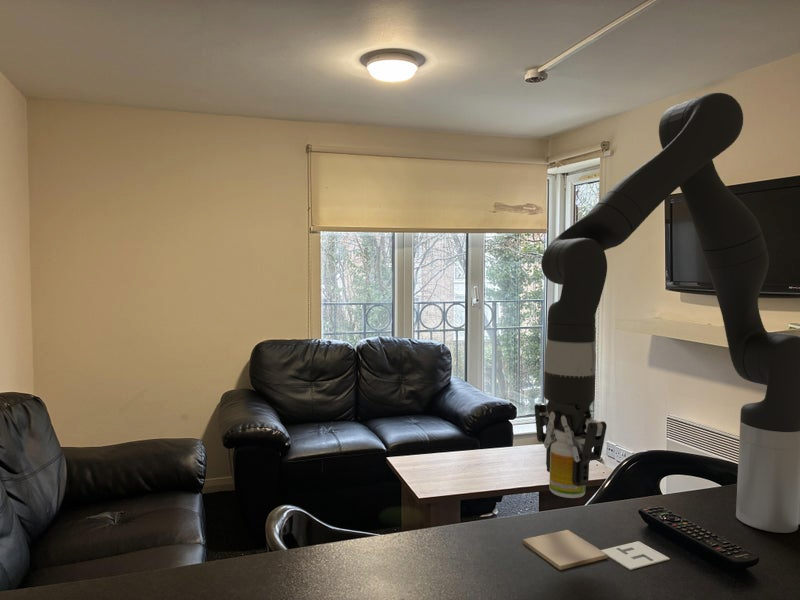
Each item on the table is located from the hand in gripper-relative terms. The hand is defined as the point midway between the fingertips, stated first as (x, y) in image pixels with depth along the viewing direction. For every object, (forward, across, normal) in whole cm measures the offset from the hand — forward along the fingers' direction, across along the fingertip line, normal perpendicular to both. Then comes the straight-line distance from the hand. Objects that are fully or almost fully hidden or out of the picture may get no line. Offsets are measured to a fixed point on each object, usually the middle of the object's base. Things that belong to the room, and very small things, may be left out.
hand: (566, 477), depth 89 cm
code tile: (+11, -6, -9) cm, 16 cm away
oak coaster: (+11, 0, 0) cm, 11 cm away
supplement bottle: (+2, 0, 0) cm, 2 cm away
